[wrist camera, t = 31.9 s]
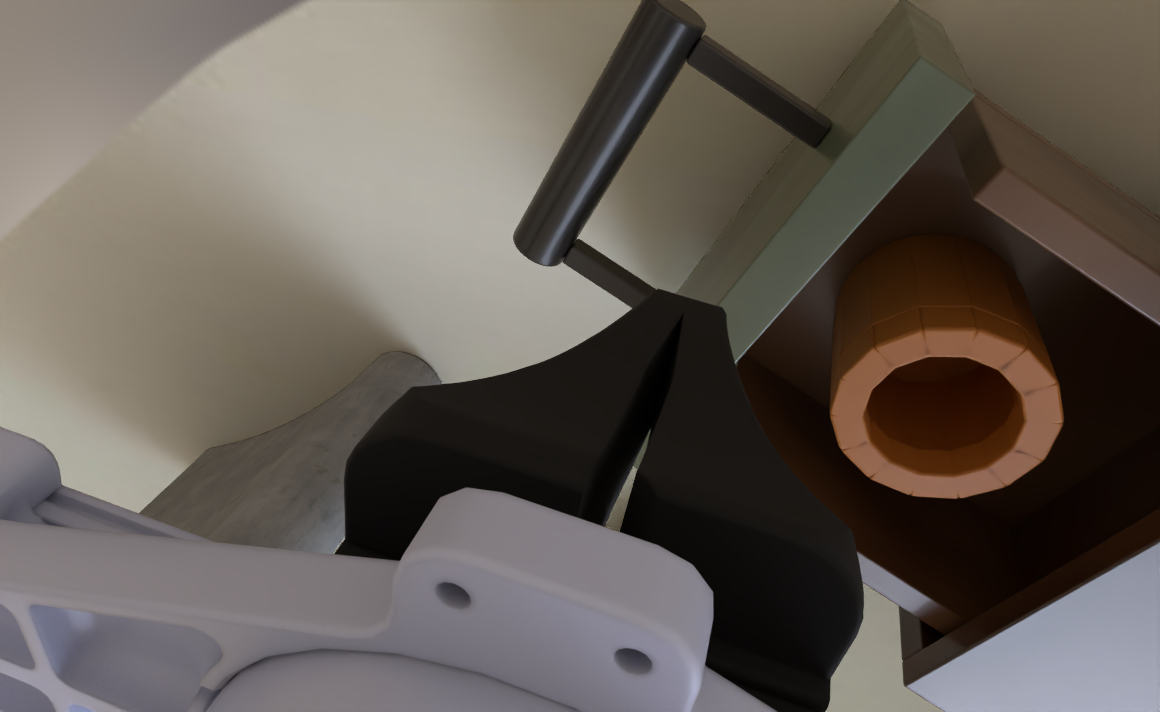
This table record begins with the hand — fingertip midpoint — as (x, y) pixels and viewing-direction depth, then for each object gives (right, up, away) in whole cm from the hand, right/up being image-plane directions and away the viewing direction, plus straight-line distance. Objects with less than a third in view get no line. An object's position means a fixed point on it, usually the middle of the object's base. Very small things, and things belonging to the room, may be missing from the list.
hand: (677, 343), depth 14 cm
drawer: (+7, +2, +8) cm, 11 cm away
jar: (+8, +1, +7) cm, 11 cm away
